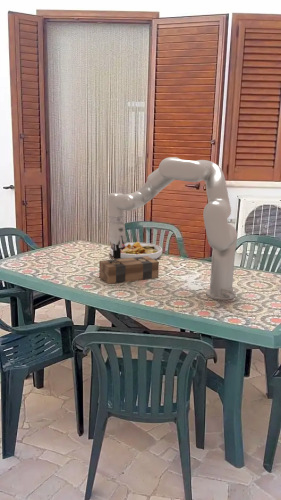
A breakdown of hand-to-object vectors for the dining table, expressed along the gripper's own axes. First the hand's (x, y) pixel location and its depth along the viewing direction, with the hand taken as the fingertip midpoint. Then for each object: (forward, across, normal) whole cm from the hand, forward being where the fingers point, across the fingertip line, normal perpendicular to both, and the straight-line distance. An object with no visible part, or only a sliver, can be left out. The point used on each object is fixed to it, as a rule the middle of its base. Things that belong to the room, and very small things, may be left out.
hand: (116, 258), depth 213 cm
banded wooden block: (+11, +1, -6) cm, 12 cm away
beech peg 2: (+11, +1, -14) cm, 17 cm away
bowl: (+11, +37, -27) cm, 47 cm away
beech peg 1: (+10, +1, 0) cm, 11 cm away
